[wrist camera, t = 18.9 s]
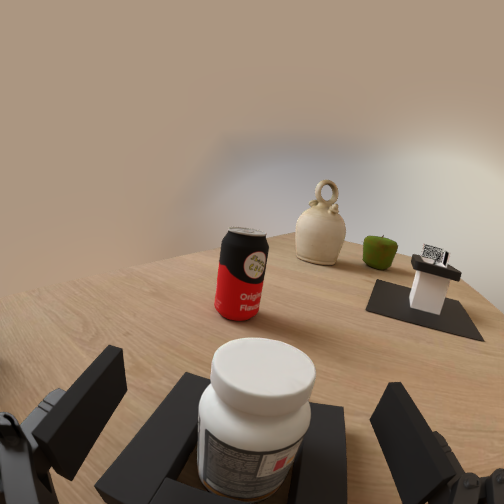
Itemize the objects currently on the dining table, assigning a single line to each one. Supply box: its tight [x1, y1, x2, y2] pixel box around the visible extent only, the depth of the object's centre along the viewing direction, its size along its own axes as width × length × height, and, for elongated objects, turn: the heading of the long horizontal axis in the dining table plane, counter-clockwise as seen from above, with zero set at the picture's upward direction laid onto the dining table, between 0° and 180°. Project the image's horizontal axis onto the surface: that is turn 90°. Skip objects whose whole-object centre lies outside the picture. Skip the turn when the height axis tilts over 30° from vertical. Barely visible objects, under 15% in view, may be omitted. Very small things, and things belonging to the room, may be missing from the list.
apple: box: [363, 236, 398, 270], centre depth 86 cm, size 12×12×11 cm
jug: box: [296, 180, 346, 265], centre depth 81 cm, size 15×16×25 cm
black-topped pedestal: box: [366, 244, 484, 341], centre depth 51 cm, size 28×26×13 cm
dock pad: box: [94, 372, 347, 504], centre depth 13 cm, size 13×13×2 cm
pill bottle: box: [197, 338, 316, 503], centre depth 12 cm, size 6×6×10 cm
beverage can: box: [214, 227, 269, 321], centre depth 38 cm, size 6×6×12 cm
